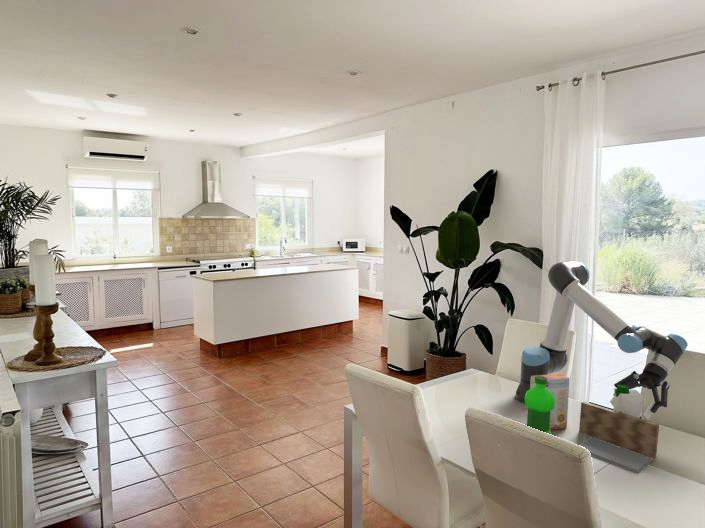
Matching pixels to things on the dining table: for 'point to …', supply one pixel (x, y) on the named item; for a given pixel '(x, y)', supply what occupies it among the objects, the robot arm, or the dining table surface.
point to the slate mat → (616, 455)
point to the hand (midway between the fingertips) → (627, 410)
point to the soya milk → (628, 401)
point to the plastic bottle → (539, 405)
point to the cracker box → (557, 398)
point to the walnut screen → (619, 429)
